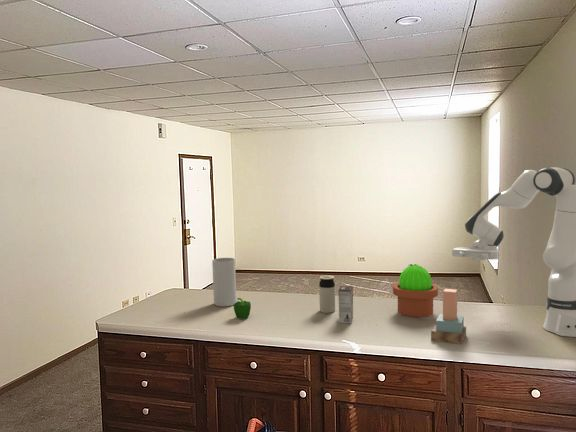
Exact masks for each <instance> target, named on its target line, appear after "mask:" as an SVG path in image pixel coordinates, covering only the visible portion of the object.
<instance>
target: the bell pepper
mask: <svg viewBox="0 0 576 432" xmlns="http://www.w3.org/2000/svg"><path fill="white" fill-rule="evenodd" d="M238 300H239V301H238ZM251 304H252V303H251V302H250V301H247V300H243V298H241V297H236V303H235V304H234V305H233V311H234V314H235V317H236V318H237V319H241V320H245V319H248V318H249V316H250V313H251V308H252V307H251V306H252V305H251Z"/></svg>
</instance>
